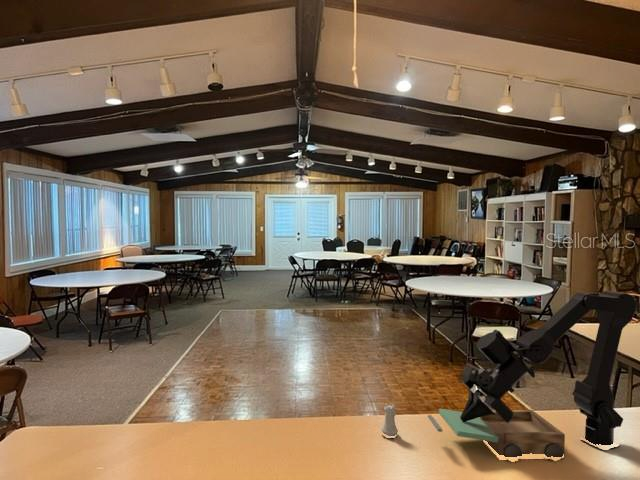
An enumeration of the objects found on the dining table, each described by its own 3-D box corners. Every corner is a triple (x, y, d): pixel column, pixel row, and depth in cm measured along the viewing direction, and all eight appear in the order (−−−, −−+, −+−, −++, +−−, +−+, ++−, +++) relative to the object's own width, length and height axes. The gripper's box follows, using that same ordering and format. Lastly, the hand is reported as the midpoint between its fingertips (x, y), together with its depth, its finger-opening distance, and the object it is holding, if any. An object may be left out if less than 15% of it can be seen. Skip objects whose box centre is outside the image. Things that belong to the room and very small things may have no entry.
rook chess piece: (385, 440, 109) (385, 409, 109) (378, 432, 113) (378, 403, 113) (401, 438, 110) (401, 408, 110) (393, 430, 114) (394, 401, 114)
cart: (529, 430, 116) (529, 408, 116) (567, 461, 100) (567, 436, 100) (472, 430, 115) (472, 408, 115) (501, 462, 99) (501, 437, 99)
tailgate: (475, 414, 113) (426, 406, 112) (498, 437, 100) (443, 428, 99) (474, 420, 113) (424, 412, 112) (497, 444, 100) (441, 436, 99)
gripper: (468, 344, 116) (428, 384, 115) (501, 365, 97) (453, 413, 96) (495, 372, 116) (455, 412, 116) (533, 399, 98) (486, 447, 97)
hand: (461, 420), depth 106 cm, fingers closed
